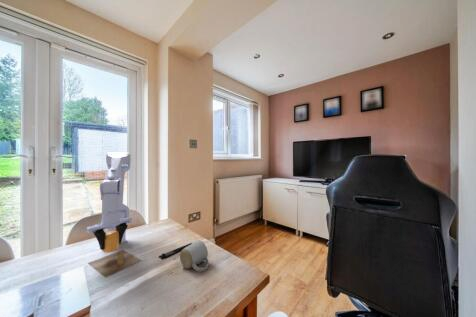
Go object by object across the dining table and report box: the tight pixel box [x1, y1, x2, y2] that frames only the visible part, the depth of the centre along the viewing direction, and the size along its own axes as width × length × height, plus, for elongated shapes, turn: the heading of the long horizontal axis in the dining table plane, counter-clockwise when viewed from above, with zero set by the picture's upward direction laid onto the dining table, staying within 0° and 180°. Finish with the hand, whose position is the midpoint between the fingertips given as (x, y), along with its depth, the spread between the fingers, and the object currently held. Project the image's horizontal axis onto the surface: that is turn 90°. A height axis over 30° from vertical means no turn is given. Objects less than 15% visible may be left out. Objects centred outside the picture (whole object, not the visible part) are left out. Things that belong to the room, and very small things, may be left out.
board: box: [87, 249, 143, 279], centre depth 67 cm, size 15×12×6 cm
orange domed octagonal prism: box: [101, 231, 120, 253], centre depth 70 cm, size 5×5×6 cm
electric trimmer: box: [158, 242, 193, 261], centre depth 75 cm, size 4×16×3 cm, turn 140°
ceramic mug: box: [179, 239, 210, 272], centre depth 68 cm, size 11×8×8 cm
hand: (110, 246), depth 70 cm, fingers closed on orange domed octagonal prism, 5 cm apart
